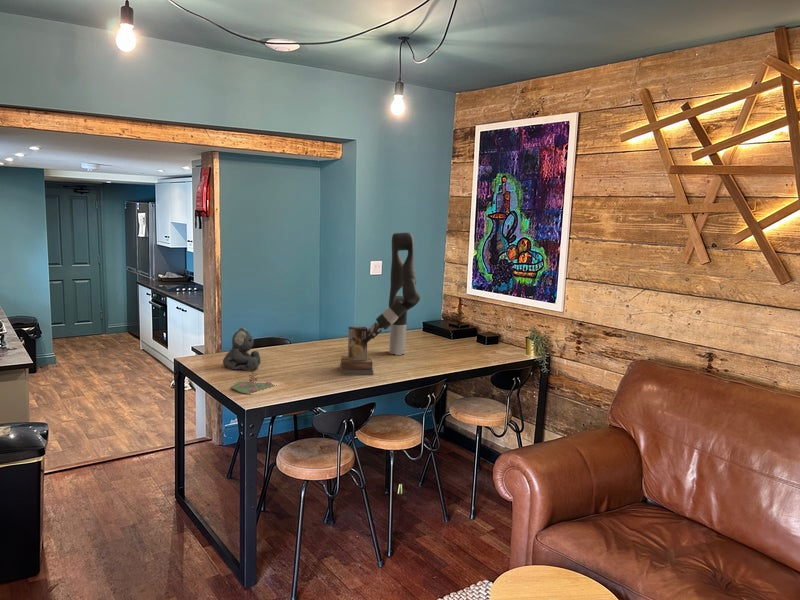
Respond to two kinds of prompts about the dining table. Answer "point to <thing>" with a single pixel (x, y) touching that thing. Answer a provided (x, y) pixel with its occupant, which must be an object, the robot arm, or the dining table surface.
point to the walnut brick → (356, 364)
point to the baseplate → (356, 371)
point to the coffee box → (357, 343)
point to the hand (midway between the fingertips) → (363, 340)
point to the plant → (251, 386)
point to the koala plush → (242, 352)
